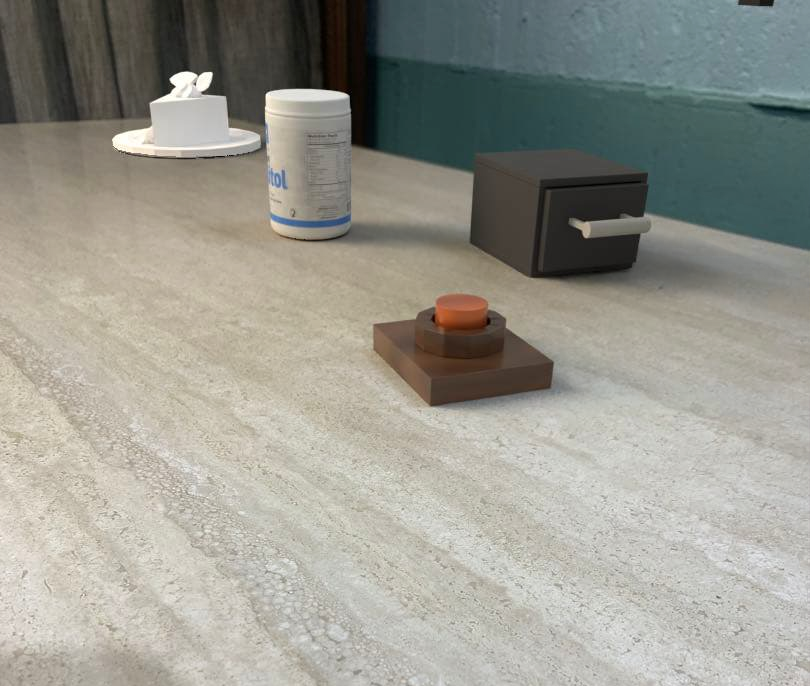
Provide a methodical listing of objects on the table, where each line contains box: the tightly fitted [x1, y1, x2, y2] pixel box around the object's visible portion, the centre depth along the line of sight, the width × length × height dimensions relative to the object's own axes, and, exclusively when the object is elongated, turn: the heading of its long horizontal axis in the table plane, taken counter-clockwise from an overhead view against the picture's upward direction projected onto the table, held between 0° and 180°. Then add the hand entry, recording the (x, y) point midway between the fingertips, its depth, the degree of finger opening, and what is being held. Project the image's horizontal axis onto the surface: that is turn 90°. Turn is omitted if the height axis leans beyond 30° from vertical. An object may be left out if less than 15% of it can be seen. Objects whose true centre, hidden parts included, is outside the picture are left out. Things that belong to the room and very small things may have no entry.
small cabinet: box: [469, 147, 649, 279], centre depth 94 cm, size 15×13×10 cm
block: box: [372, 306, 555, 408], centre depth 68 cm, size 12×10×4 cm
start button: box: [434, 293, 489, 330], centre depth 66 cm, size 4×4×2 cm
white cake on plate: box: [112, 71, 262, 157], centre depth 147 cm, size 25×25×11 cm
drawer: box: [537, 182, 652, 272], centre depth 91 cm, size 18×11×8 cm, turn 22°
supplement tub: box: [264, 88, 352, 241], centre depth 99 cm, size 10×10×15 cm
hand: (755, 5), depth 74 cm, fingers closed
